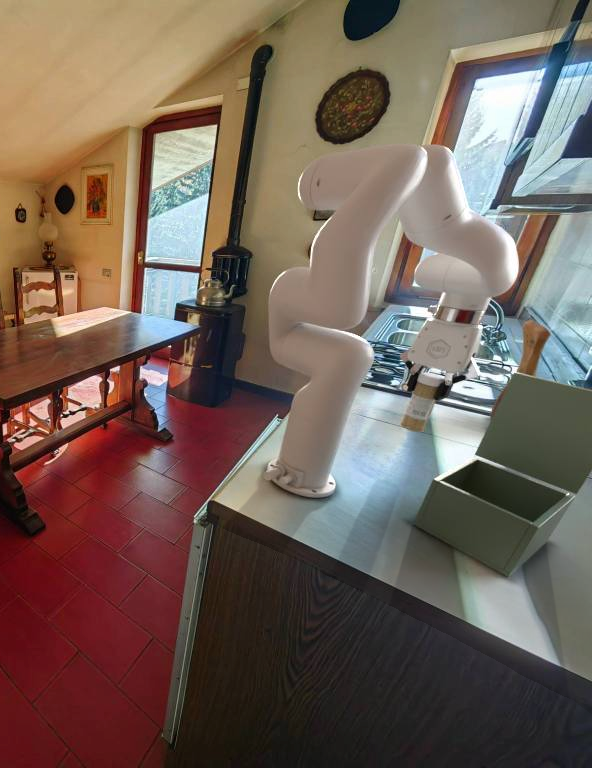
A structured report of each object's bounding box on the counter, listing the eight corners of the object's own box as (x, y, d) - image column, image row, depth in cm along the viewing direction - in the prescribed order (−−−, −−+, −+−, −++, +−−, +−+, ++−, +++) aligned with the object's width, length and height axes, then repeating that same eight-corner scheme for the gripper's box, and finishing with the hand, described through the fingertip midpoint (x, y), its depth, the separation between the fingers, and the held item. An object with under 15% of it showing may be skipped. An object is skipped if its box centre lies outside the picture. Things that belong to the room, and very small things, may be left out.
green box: (508, 577, 59) (538, 527, 55) (412, 524, 69) (432, 478, 66) (546, 542, 66) (575, 496, 62) (453, 498, 76) (474, 456, 72)
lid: (635, 401, 55) (645, 394, 58) (513, 372, 66) (526, 367, 68) (576, 494, 62) (587, 484, 64) (474, 454, 72) (487, 447, 74)
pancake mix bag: (480, 434, 100) (530, 328, 89) (482, 411, 112) (526, 316, 102) (517, 444, 96) (575, 334, 85) (515, 419, 108) (565, 320, 97)
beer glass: (390, 386, 129) (406, 343, 123) (405, 384, 131) (421, 341, 125) (412, 395, 122) (430, 349, 117) (428, 392, 124) (446, 348, 119)
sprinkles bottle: (426, 429, 91) (449, 376, 86) (419, 434, 89) (442, 380, 84) (403, 421, 95) (424, 370, 90) (396, 426, 93) (416, 373, 87)
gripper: (402, 309, 87) (375, 384, 94) (504, 326, 73) (464, 413, 80) (419, 307, 90) (392, 380, 97) (520, 323, 77) (480, 407, 83)
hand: (425, 394), depth 89 cm, fingers closed on sprinkles bottle, 4 cm apart
